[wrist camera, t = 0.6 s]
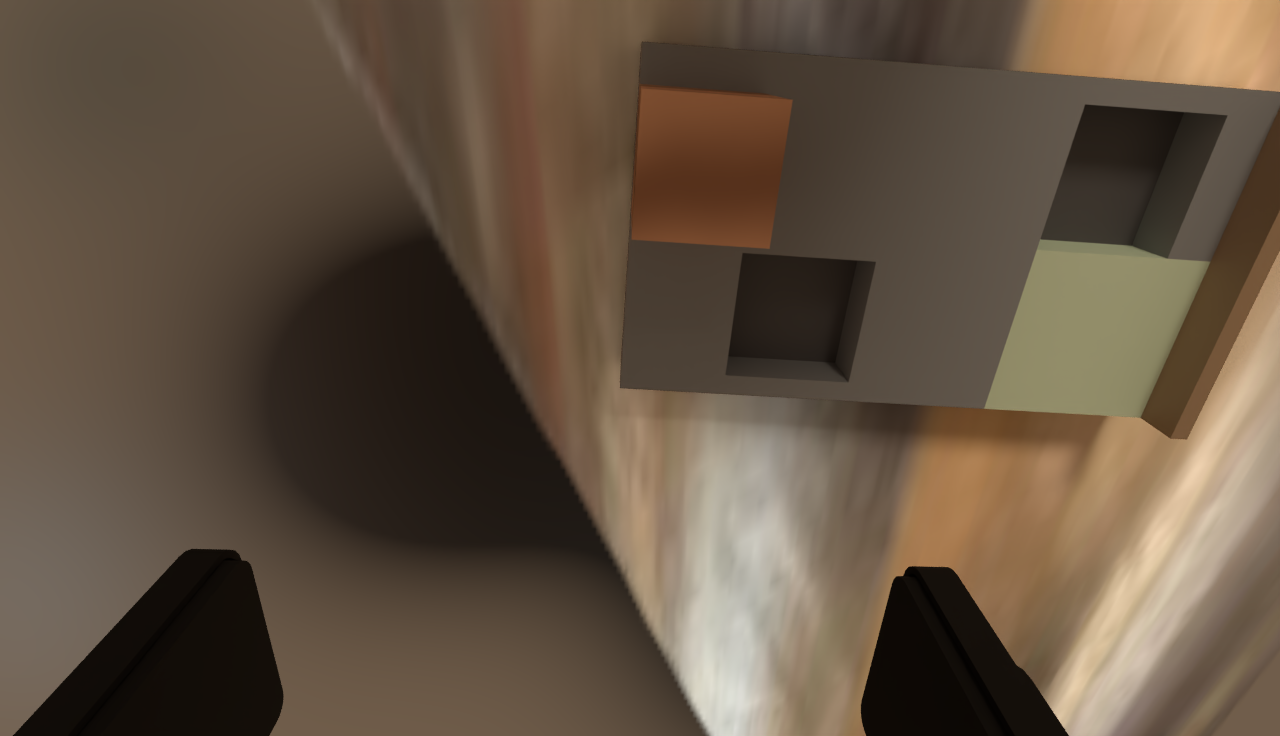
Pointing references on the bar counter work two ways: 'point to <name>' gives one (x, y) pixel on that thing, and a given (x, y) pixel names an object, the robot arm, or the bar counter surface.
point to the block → (707, 165)
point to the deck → (971, 241)
